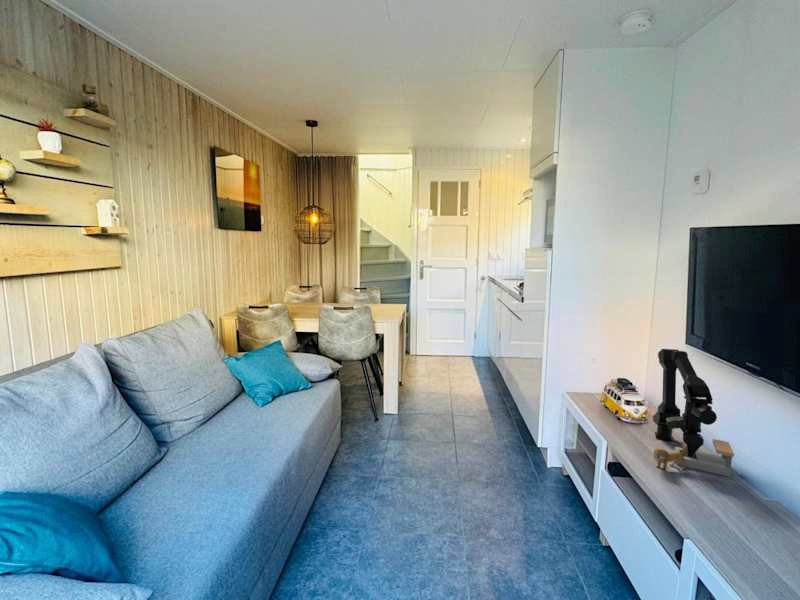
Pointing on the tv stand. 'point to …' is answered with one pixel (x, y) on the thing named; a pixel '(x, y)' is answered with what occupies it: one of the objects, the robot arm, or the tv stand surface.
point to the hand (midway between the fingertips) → (688, 451)
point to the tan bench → (724, 451)
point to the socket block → (706, 463)
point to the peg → (685, 450)
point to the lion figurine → (668, 458)
